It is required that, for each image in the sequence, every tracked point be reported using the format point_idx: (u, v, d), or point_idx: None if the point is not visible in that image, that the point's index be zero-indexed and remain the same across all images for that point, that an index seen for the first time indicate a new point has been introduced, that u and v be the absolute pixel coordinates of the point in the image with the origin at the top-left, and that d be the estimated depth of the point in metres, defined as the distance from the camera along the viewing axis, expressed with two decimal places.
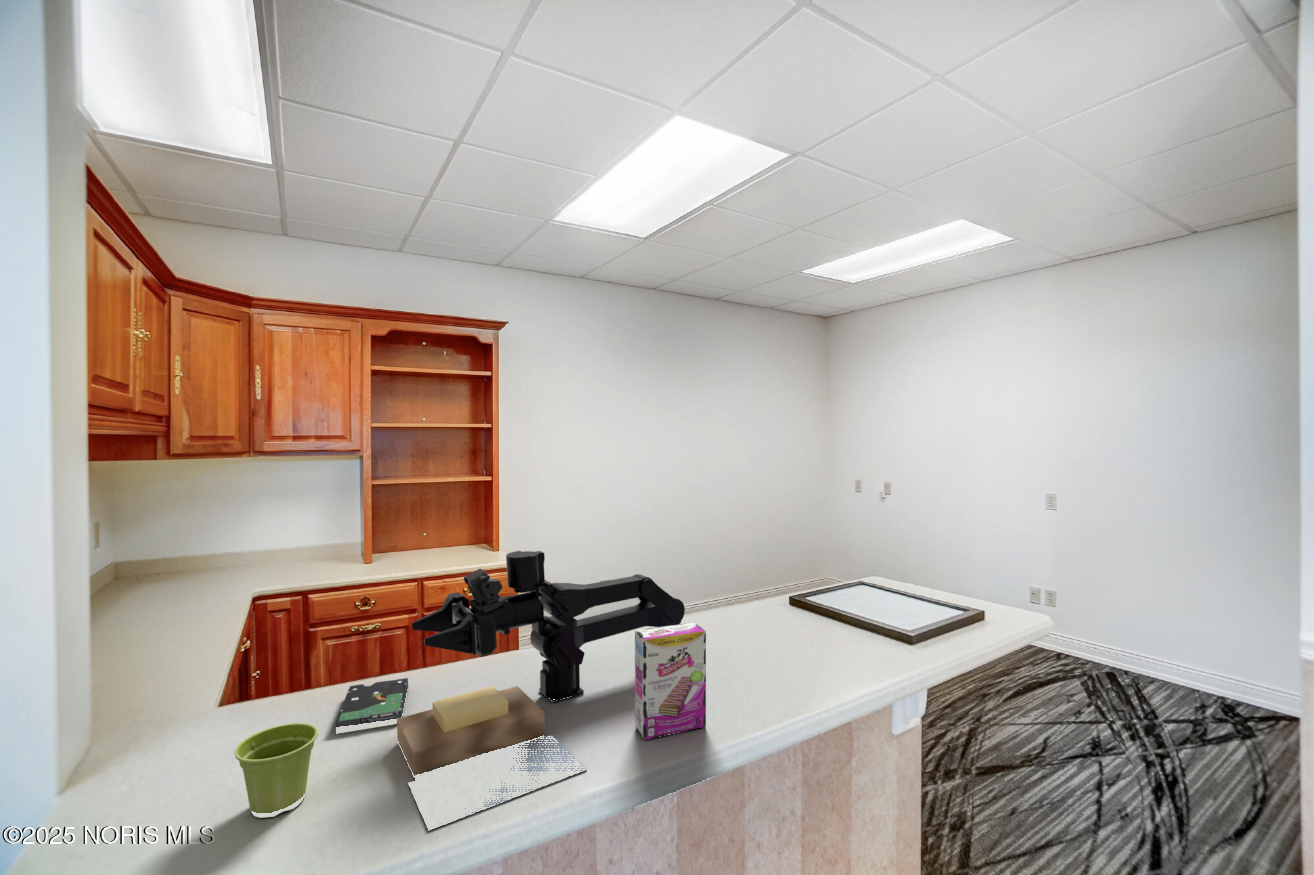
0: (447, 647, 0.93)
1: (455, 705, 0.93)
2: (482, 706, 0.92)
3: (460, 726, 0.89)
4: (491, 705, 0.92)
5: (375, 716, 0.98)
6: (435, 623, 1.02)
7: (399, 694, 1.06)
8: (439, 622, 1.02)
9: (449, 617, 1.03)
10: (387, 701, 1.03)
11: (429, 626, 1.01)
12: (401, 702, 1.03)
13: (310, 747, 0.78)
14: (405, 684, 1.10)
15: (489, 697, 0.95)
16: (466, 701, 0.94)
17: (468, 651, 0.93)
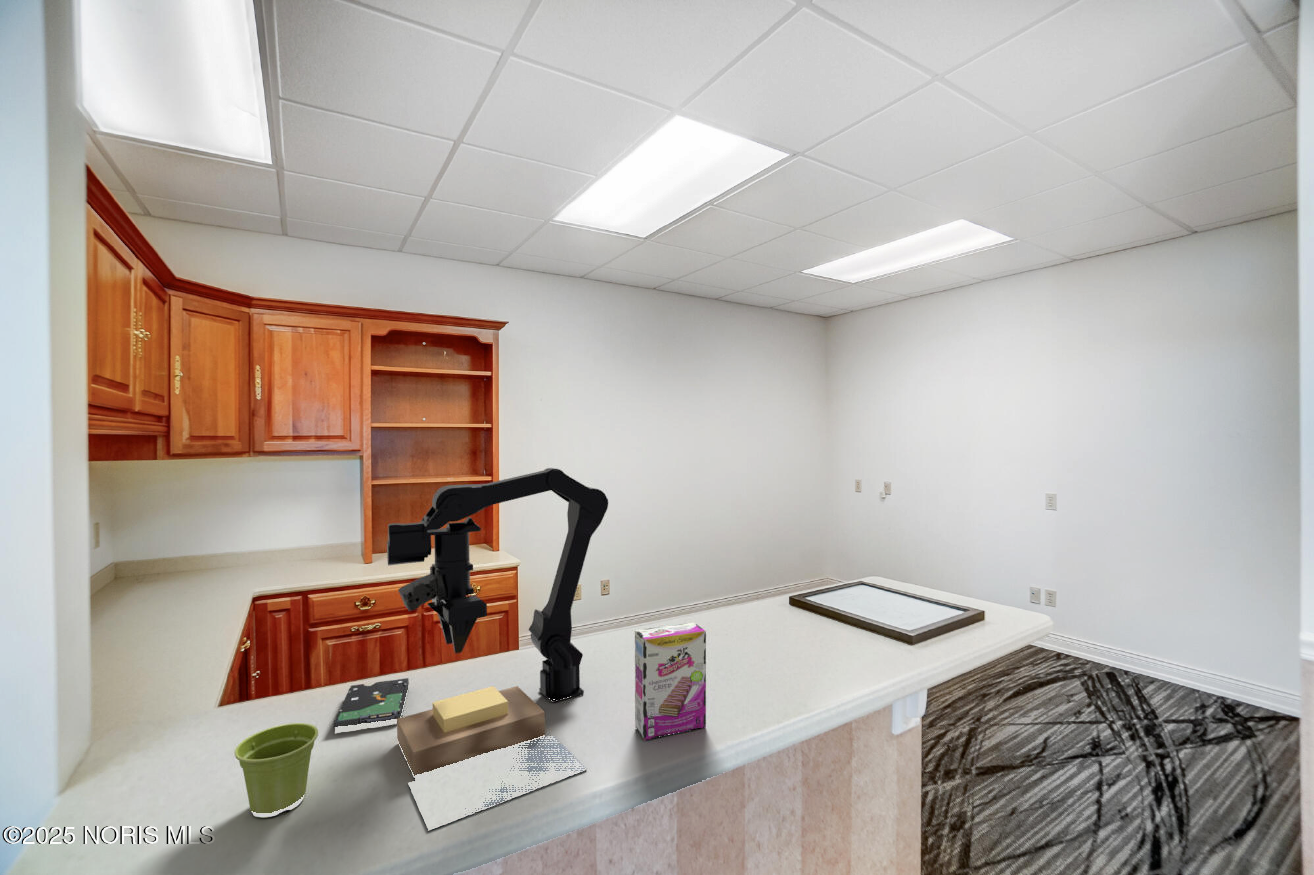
0: (468, 633, 0.99)
1: (455, 705, 0.93)
2: (482, 706, 0.92)
3: (460, 726, 0.89)
4: (491, 705, 0.92)
5: (373, 716, 0.98)
6: None
7: (399, 694, 1.06)
8: None
9: None
10: (387, 701, 1.03)
11: None
12: (400, 702, 1.03)
13: (310, 747, 0.78)
14: (405, 684, 1.10)
15: (489, 697, 0.95)
16: (466, 701, 0.94)
17: (476, 617, 0.98)
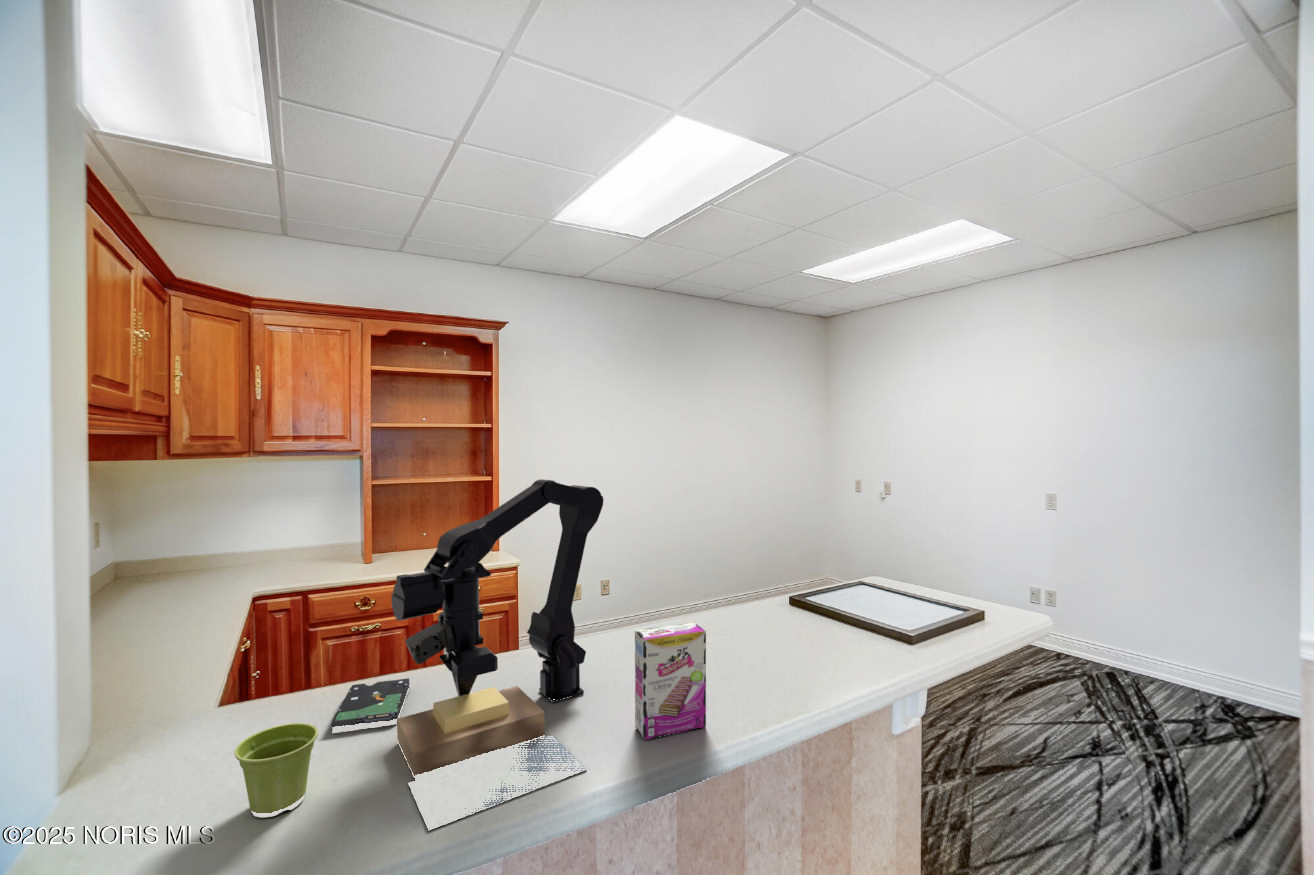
0: (473, 680, 0.97)
1: (456, 706, 0.92)
2: (483, 707, 0.92)
3: (461, 727, 0.89)
4: (492, 706, 0.92)
5: (371, 717, 0.98)
6: None
7: (398, 695, 1.06)
8: None
9: None
10: (385, 702, 1.03)
11: None
12: (398, 703, 1.02)
13: (310, 747, 0.78)
14: (405, 684, 1.10)
15: (490, 698, 0.95)
16: (467, 701, 0.94)
17: None
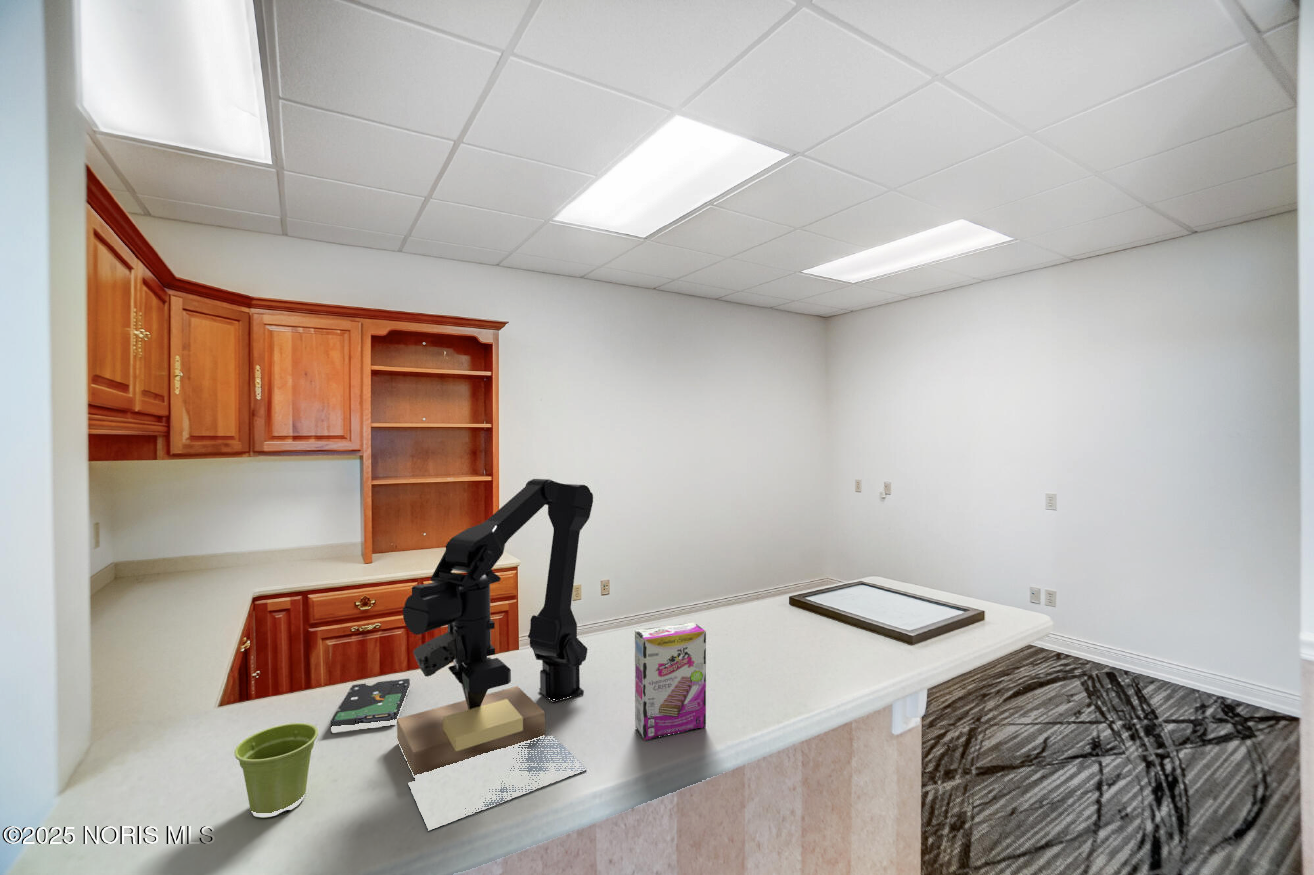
0: (484, 693, 0.92)
1: (467, 721, 0.87)
2: (496, 723, 0.87)
3: (472, 744, 0.84)
4: (505, 721, 0.87)
5: (370, 717, 0.98)
6: None
7: (397, 695, 1.06)
8: None
9: None
10: (385, 702, 1.03)
11: None
12: (398, 703, 1.02)
13: (310, 747, 0.78)
14: (405, 685, 1.10)
15: (503, 712, 0.90)
16: (478, 716, 0.89)
17: None
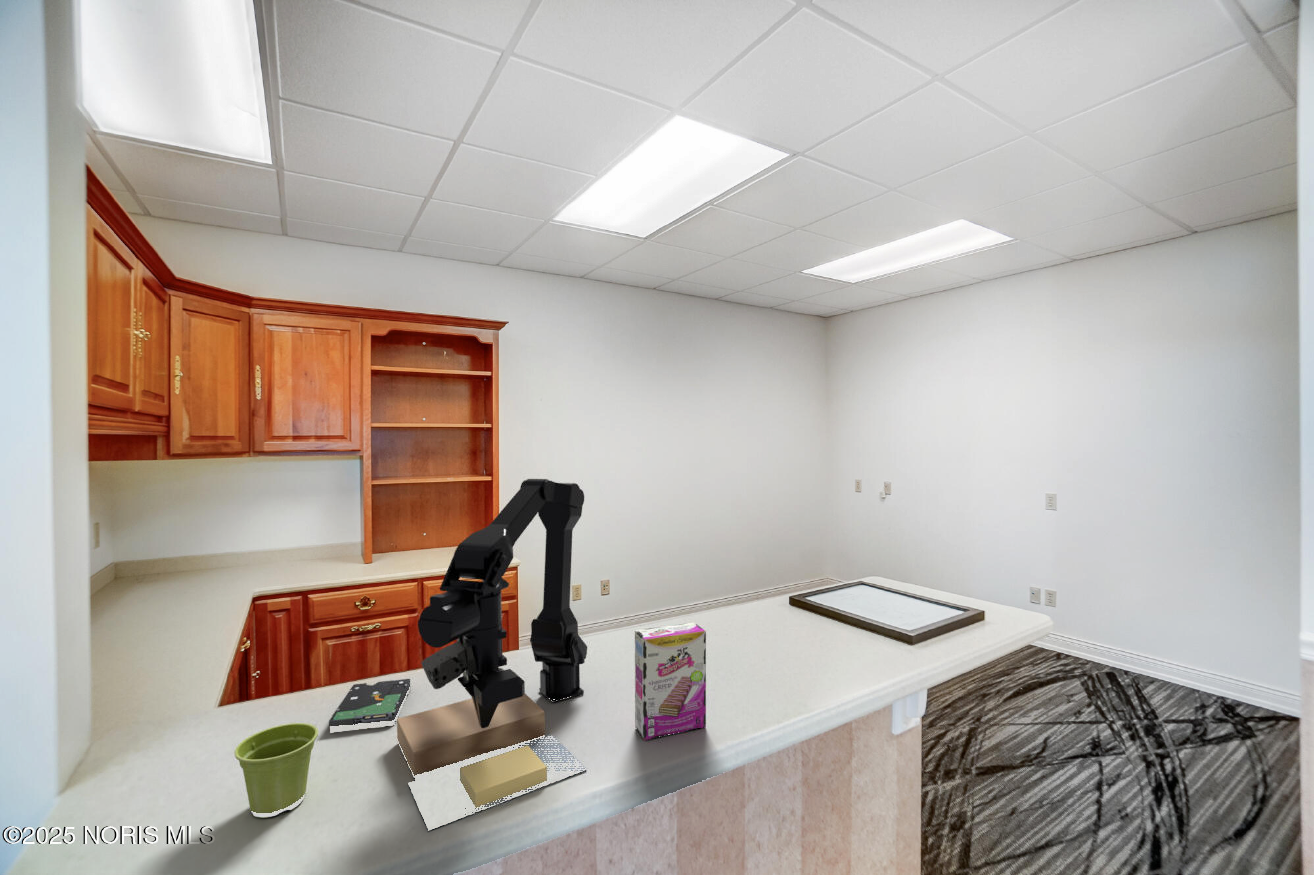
0: (495, 705, 0.88)
1: None
2: None
3: None
4: None
5: (368, 717, 0.98)
6: None
7: (397, 695, 1.05)
8: None
9: None
10: (384, 702, 1.03)
11: None
12: (396, 703, 1.02)
13: (310, 747, 0.78)
14: (405, 685, 1.10)
15: None
16: None
17: None
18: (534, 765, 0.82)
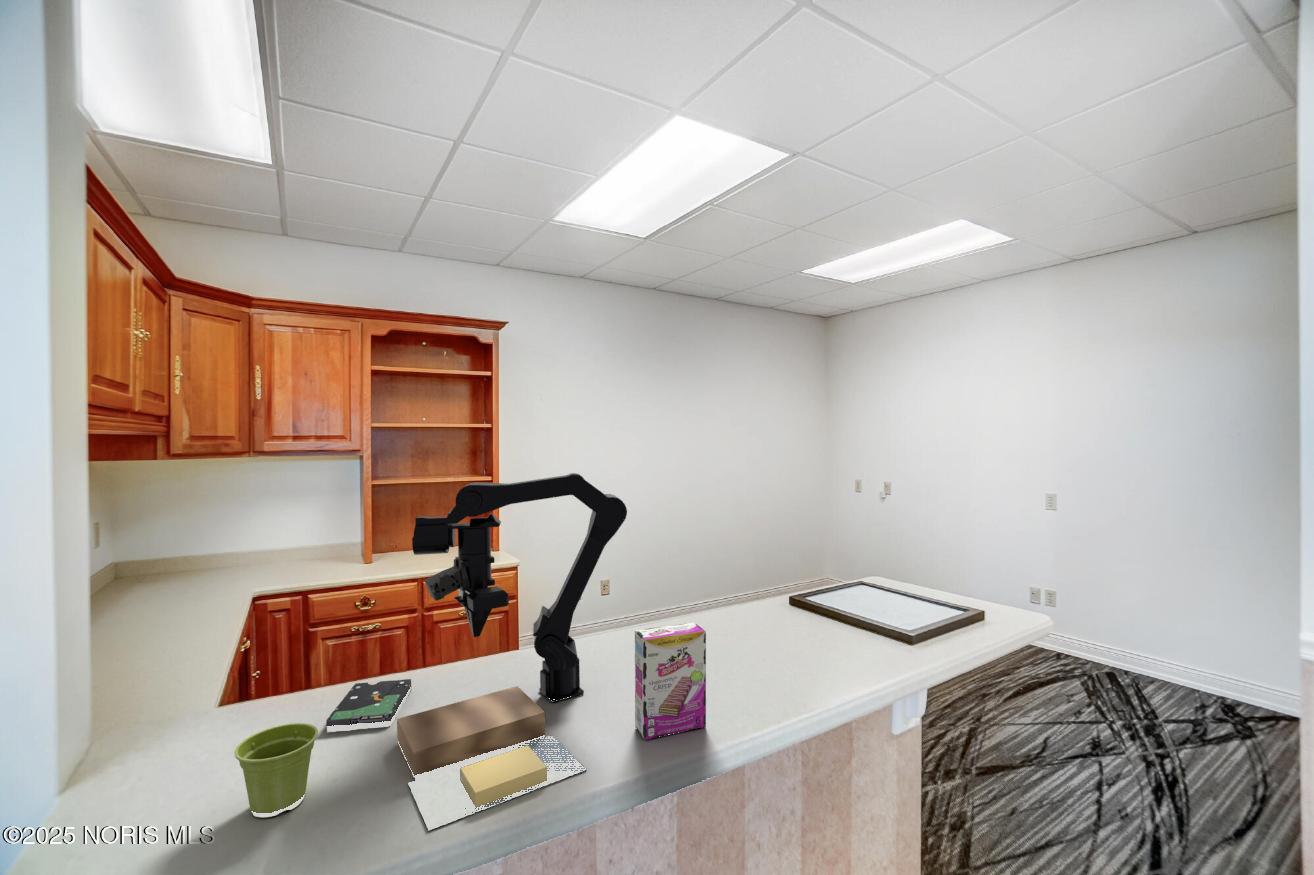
0: (485, 618, 1.07)
1: None
2: None
3: None
4: None
5: (365, 717, 0.98)
6: None
7: (396, 696, 1.05)
8: None
9: None
10: (382, 702, 1.03)
11: None
12: (394, 704, 1.02)
13: (310, 747, 0.78)
14: (406, 685, 1.09)
15: None
16: None
17: None
18: (534, 765, 0.82)
